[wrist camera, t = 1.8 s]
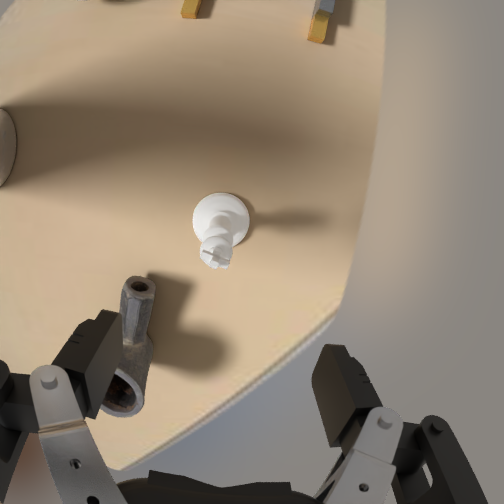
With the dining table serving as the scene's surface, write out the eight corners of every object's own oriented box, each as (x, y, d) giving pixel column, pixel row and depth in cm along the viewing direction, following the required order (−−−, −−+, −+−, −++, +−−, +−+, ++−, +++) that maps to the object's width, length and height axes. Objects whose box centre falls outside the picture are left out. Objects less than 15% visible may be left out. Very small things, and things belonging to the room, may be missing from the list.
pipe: (175, 282, 28) (157, 330, 20) (154, 374, 32) (140, 426, 24) (116, 263, 27) (81, 304, 19) (106, 359, 31) (83, 407, 23)
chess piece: (206, 183, 25) (189, 206, 15) (259, 206, 26) (274, 243, 16) (184, 234, 26) (158, 284, 17) (235, 256, 27) (236, 315, 18)
